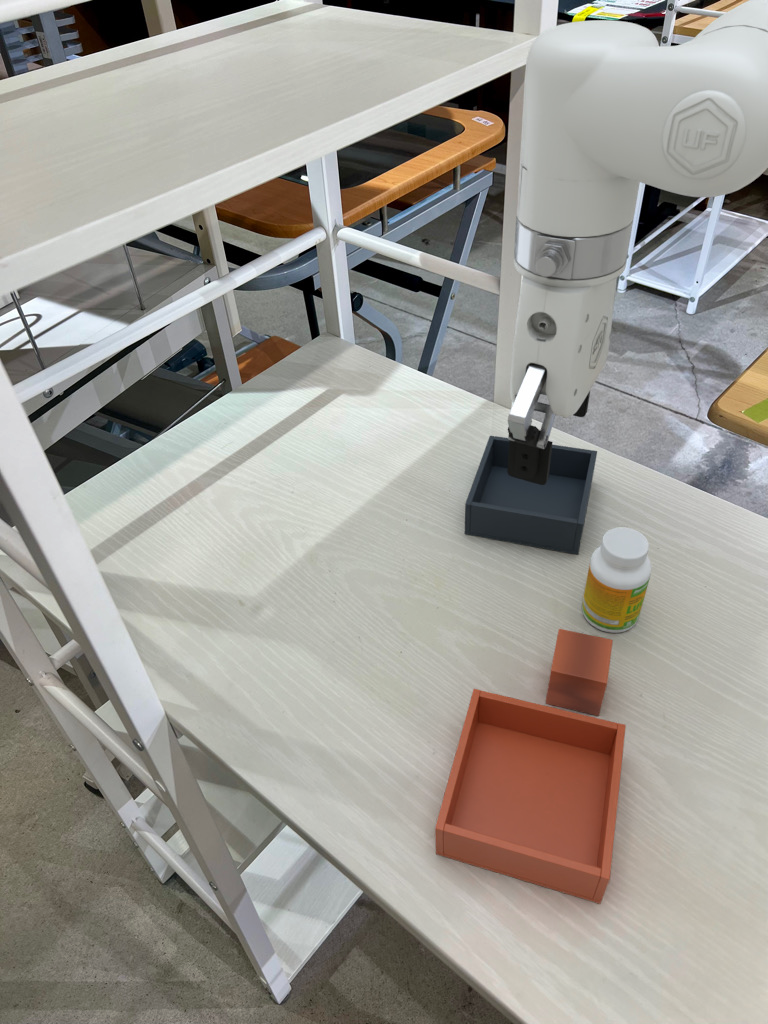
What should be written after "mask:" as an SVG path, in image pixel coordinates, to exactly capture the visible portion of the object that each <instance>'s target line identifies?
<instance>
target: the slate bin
mask: <svg viewBox="0 0 768 1024" xmlns="http://www.w3.org/2000/svg"><path fill="white" fill-rule="evenodd" d="M508 453H509V440H508V437H503V436H497V435H489V437H488V439H487V442H486V446H485V448H484V450H483V454H482V456H481V459H480V461H479V464H478V467H477V471H476V473H475V475H474V479H473V481H472V483H471V487H470V489H469V493H468V495H467V498H466V501H465V503H464V535H466V536H467V535H468V536H472V537H478V538H484V539H488V540H495V541H500V542H505V543H510V544H517V545H520V546H521V545H522V546H527V547H532V548H533V547H534V548H538V549H543V550H549V551H554V552H559V553H560V552H561V553H565V554H570V555H576V556H577V555H578V556H579V554H580V553H579V552H580V548H581V543H582V538H583V537H582V536H583V532H584V527H585V521H586V516H587V511H588V506H589V500H590V495H591V489H592V484H593V479H594V474H595V467H596V461H597V456H598V450H592V449H587V448H586V449H585V448H579V447H573V446H566V445H557V444H552V451H551V460H550V468H549V477H548V480H547V482H546V484H545V485H539V484H536V483H532V482H529V481H525V480H522V479H518V478H515V477H511V476H510V475H508V473H507V468H508Z"/></svg>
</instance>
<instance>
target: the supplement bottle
mask: <svg viewBox="0 0 768 1024" xmlns="http://www.w3.org/2000/svg"><path fill="white" fill-rule="evenodd" d="M601 539H602V540H601V544H600V546H598V547H597V548H595V550H594V551H593V553H592V554H591V557H590V561H589V565H588V570H587V575H586V581H585V586H584V592H583V596H582V602H581V610H582V614H583V617H584V618H585V620H586V621H587V622H588V623H589V625H591V626H592V627H594V628H596V629H597V630H599V631H602V632H606V633H612V634H619V633H624V632H627V631H629V630H632V628H634V626H636V624H637V622H638V621H639V618H640V615H641V613H642V612H641V611H642V608H643V604H644V600H645V596H646V593H647V589H648V586H649V583H650V578H651V575H652V568H653V567H652V563H651V562H652V561H651V560H650V558H649V556H648V554H649V549H650V544H649V541H648V539H647V537H646V536H645V535H644V534H643V533H642V532H640V531H639V530H636V529H634V528H631V527H628V526H627V527H626V526H618V527H614V528H610V529H609V530H606V532H605V533H604V534H603V536H602V538H601Z"/></svg>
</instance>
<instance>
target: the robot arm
mask: <svg viewBox="0 0 768 1024" xmlns="http://www.w3.org/2000/svg"><path fill="white" fill-rule="evenodd" d="M524 71H525V72H524V83H523V84H524V85H523V101H522V115H521V117H522V118H521V135H520V151H519V168H518V169H519V170H518V184H517V185H518V186H517V201H516V216H515V217H516V218H515V234H514V249H513V250H514V251H513V253H514V254H513V266H514V269H515V270H516V272H517V273H519V274H520V275H521V276H522V278H521V286H520V292H519V298H518V303H517V311H516V318H515V325H514V334H513V343H512V352H511V363H510V375H509V377H510V378H509V397H510V401H511V402H512V406H511V408H510V410H509V413H508V416H507V425H508V427H507V433H508V435H507V438H508V440H509V453H508V468H507V473H508V475H510V476H511V477H515V478H518V479H522V480H525V481H529V482H532V483H536V484H539V485H545V484H546V482H547V480H548V477H549V468H550V460H551V451H552V445H553V441H551V440H549V439H550V436H551V432H552V429H553V426H554V423H555V418H556V416H558V417H562V419H568V418H571V417H573V416H574V417H577V418H584V417H585V416H586V414H587V413H588V408H589V402H590V397H591V390H592V388H593V386H594V385H595V383H596V381H597V379H598V378H599V376H600V374H601V372H602V371H603V369H604V367H605V365H606V362H607V360H608V355H609V351H610V342H611V335H612V325H613V317H614V309H615V300H616V292H617V291H616V290H617V281H618V280H617V279H618V278H619V277H620V276H621V275H623V273H624V271H625V270H626V268H627V261H628V256H629V255H628V253H629V248H630V242H631V236H632V231H633V224H634V218H635V213H636V207H637V200H638V195H639V189H640V183H641V184H644V185H647V186H651V187H654V188H657V189H659V190H663V191H665V192H668V193H669V192H670V193H673V194H677V195H682V196H686V197H692V198H716V197H720V196H724V195H725V196H726V195H728V194H732V193H734V192H737V191H739V190H741V189H743V188H744V187H746V186H748V185H750V184H751V183H752V182H754V181H755V180H756V179H758V178H759V177H761V175H762V174H763V173H764V172H765V171H767V169H768V0H746V1H744V2H743V3H741V4H739V5H737V6H736V7H734V8H732V9H730V10H729V11H727V12H725V13H723V14H722V15H720V16H719V17H717V18H716V19H714V20H713V21H712V22H710V23H709V24H708V25H707V26H706V27H705V28H703V29H702V30H701V31H700V32H699V33H697V35H695V37H693V39H690V40H689V41H685V42H684V43H683V42H682V43H681V44H678V45H677V44H676V45H668V46H667V45H662V46H661V45H659V41H658V39H657V37H656V36H655V34H654V33H653V32H652V31H651V30H650V29H649V28H647V27H645V26H642V25H640V24H638V23H633V22H630V21H629V22H628V21H622V20H610V19H609V20H607V19H606V20H605V19H604V20H603V19H602V20H601V19H600V20H599V19H597V20H595V19H594V20H582V21H572V22H565V23H562V24H558V25H556V26H553V27H550V28H548V29H546V30H544V31H543V32H541V33H540V34H539V35H537V37H536V38H535V39H534V41H533V42H532V43H531V45H530V47H529V50H528V53H527V57H526V62H525V70H524ZM541 395H542V396H546V397H547V400H548V403H544V402H540V401H539V398H540V396H541ZM534 412H539V413H543V414H544V416H543V420H542V423H541V426H540V429H539V428H538V427H537V426H535V425H532V424H533V414H534Z"/></svg>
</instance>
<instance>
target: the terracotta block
mask: <svg viewBox="0 0 768 1024" xmlns="http://www.w3.org/2000/svg"><path fill="white" fill-rule="evenodd" d="M613 642H614V640H613V639H612V638H605V637H600V636H597V635H591V634H587V633H582V632H577V631H572V630H568V629H564V628H558V632H557V636H556V641H555V646H554V651H553V657H552V661H551V667H550V671H549V677H548V678H549V679H548V685H547V692H546V697H545V704H546V705H550V706H555V707H559V708H564V709H567V710H572V711H576V712H580V713H583V714H589V715H593V716H596V717H597V716H600V714H601V710H602V707H603V706H602V705H603V702H604V699H605V694H606V690H607V687H608V682H609V676H610V675H609V674H610V667H611V659H612V651H613V644H614V643H613Z"/></svg>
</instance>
